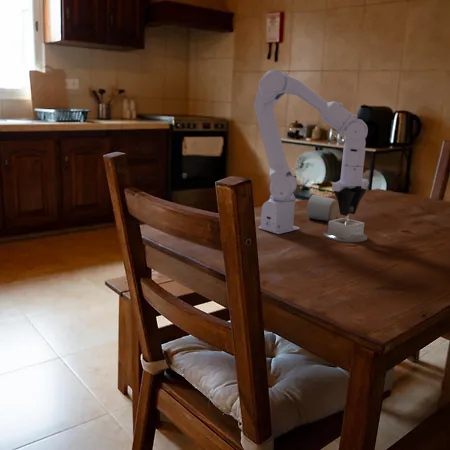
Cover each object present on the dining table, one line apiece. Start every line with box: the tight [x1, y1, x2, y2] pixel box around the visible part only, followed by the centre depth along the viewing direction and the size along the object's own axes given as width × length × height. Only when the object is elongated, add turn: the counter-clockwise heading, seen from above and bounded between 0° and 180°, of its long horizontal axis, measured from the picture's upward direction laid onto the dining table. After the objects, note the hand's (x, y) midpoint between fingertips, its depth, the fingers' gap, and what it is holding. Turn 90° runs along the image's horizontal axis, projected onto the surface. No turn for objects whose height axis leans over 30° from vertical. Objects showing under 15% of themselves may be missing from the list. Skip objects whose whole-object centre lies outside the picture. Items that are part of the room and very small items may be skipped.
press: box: [323, 217, 368, 244], centre depth 142 cm, size 12×12×4 cm
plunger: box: [342, 205, 354, 225], centre depth 141 cm, size 5×5×6 cm
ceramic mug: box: [306, 194, 340, 222], centre depth 161 cm, size 11×8×8 cm
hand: (347, 214), depth 141 cm, fingers closed on plunger, 3 cm apart
